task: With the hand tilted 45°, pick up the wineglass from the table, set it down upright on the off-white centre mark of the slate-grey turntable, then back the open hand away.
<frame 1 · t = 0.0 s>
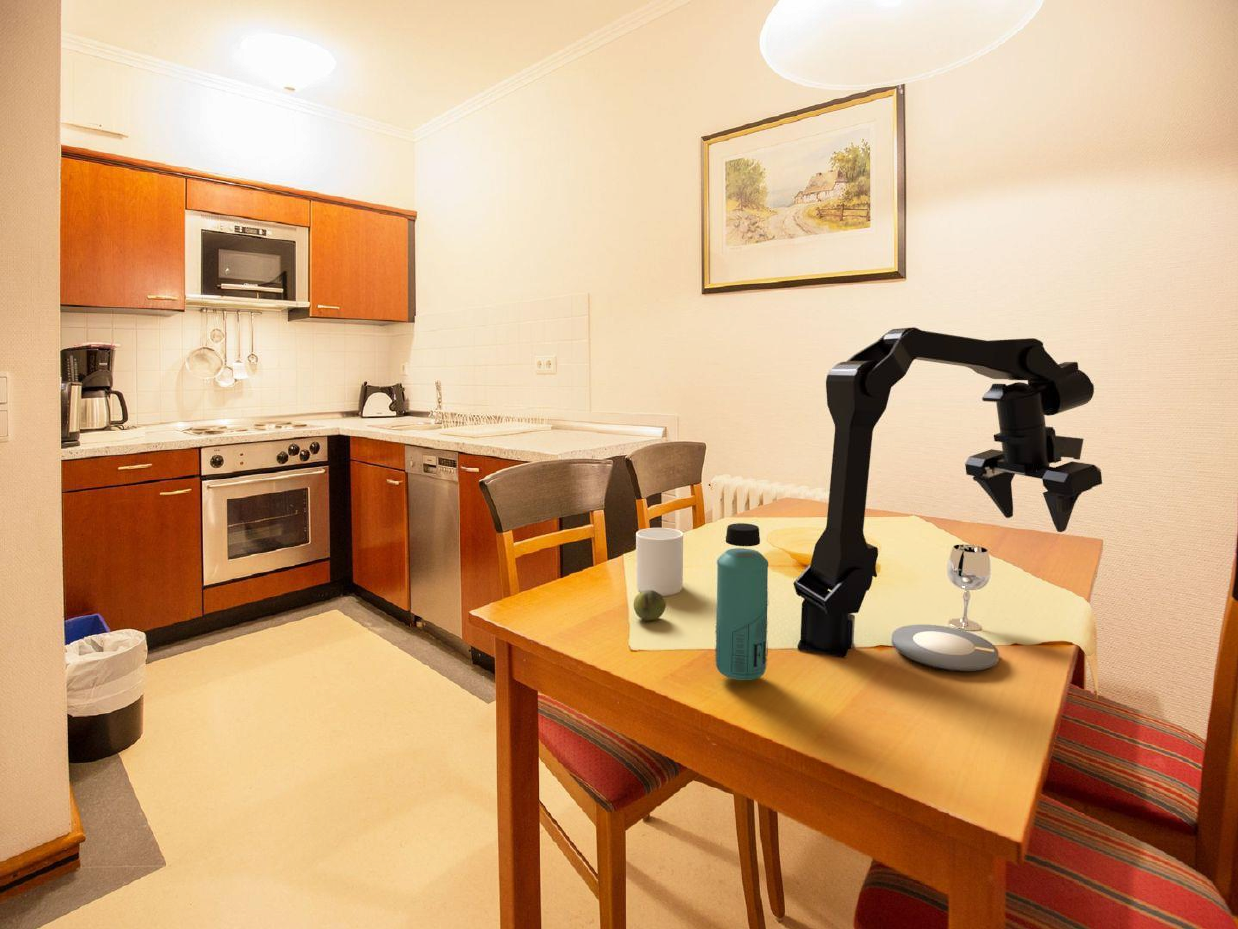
hand: (1034, 524, 98), 15 cm above the table, tool pointing down, fingers open, 9 cm apart
cup: (659, 586, 118), on the table
beverage bottle: (739, 681, 82), on the table
turntable stand: (942, 654, 89), on the table
wineglass: (964, 626, 99), on the table
lime: (650, 621, 101), on the table
turntable: (943, 645, 89), point 1 cm above the table, hinge at 0.0°
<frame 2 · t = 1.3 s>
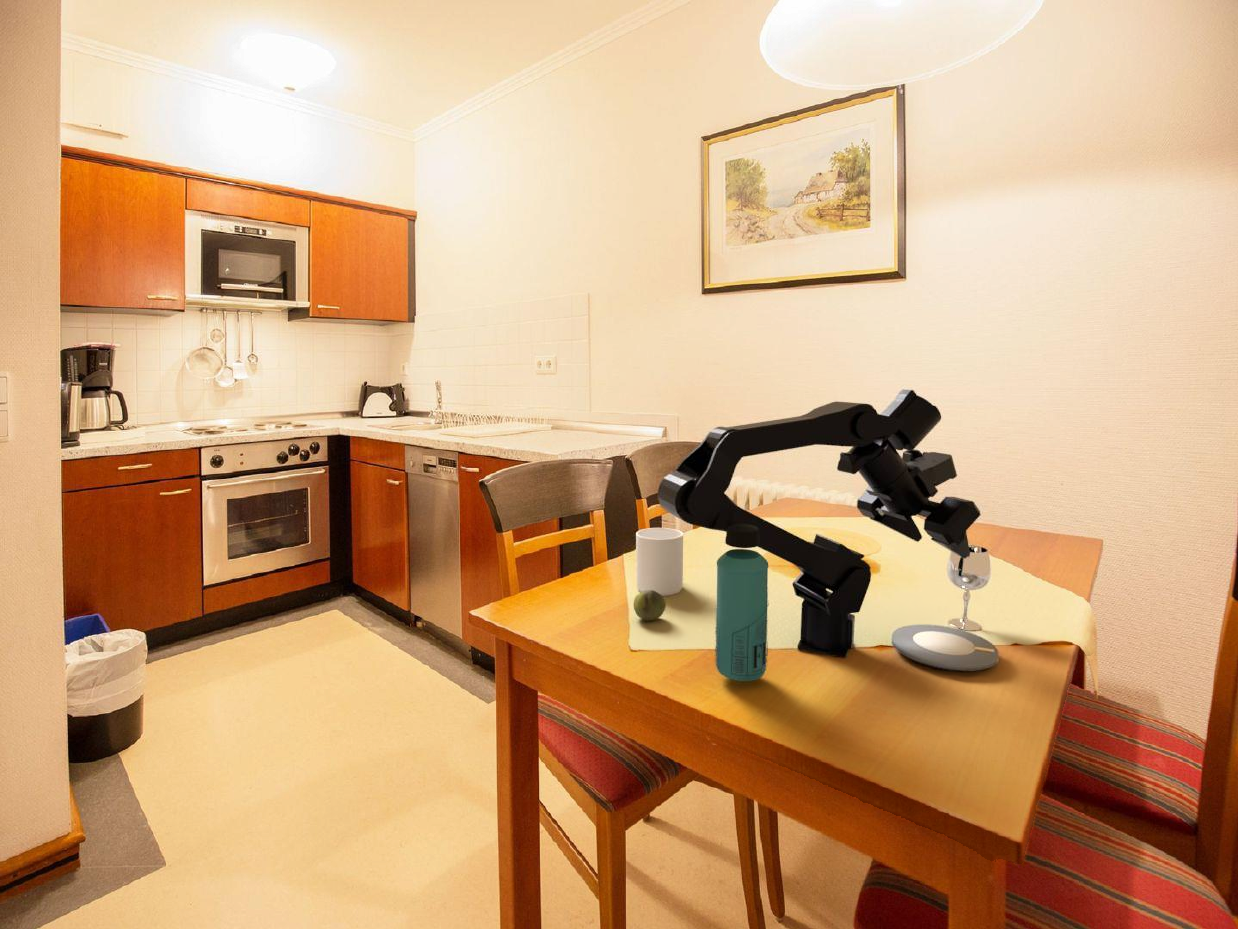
hand: (942, 547, 95), 13 cm above the table, tool tilted 40°, fingers open, 9 cm apart
beverage bottle: (740, 681, 82), on the table, touching arm
everything else where it was.
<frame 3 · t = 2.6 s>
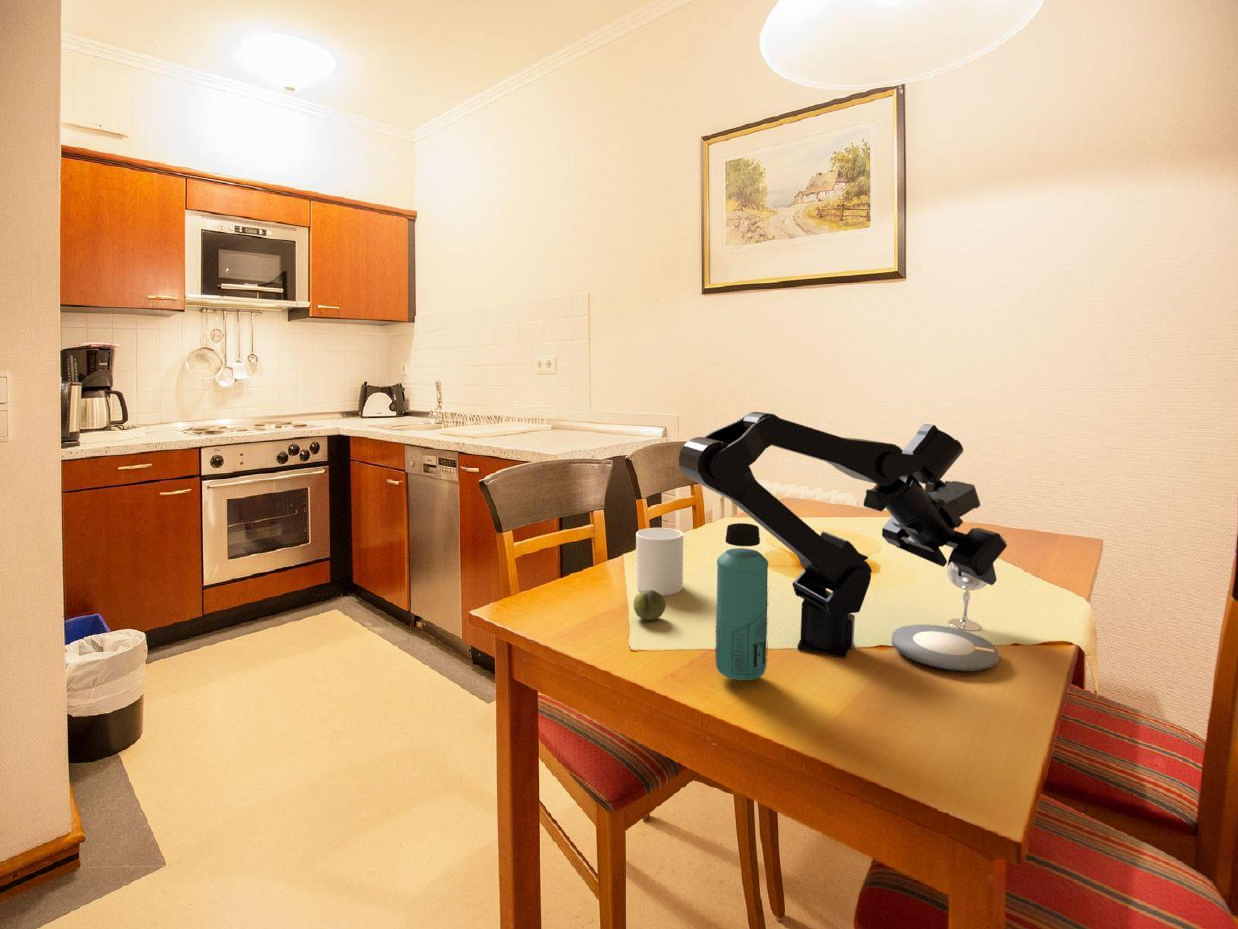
hand: (968, 573, 98), 8 cm above the table, tool tilted 45°, fingers open, 9 cm apart
beverage bottle: (739, 681, 82), on the table
everything else where it was.
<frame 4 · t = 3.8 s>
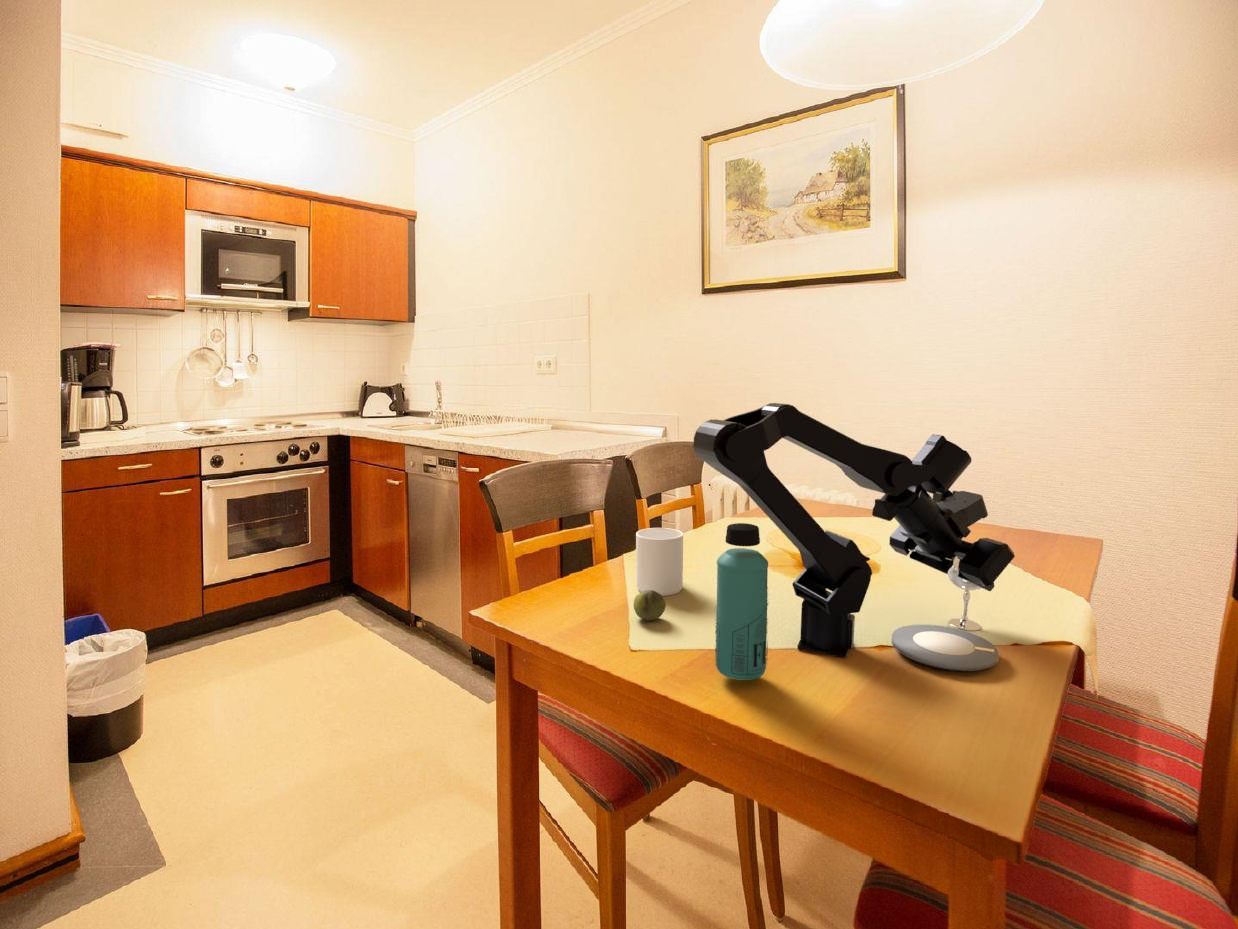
hand: (975, 582, 98), 7 cm above the table, tool tilted 45°, fingers closed on wineglass, 6 cm apart
wineglass: (964, 626, 99), on the table, touching gripper
everything else where it was.
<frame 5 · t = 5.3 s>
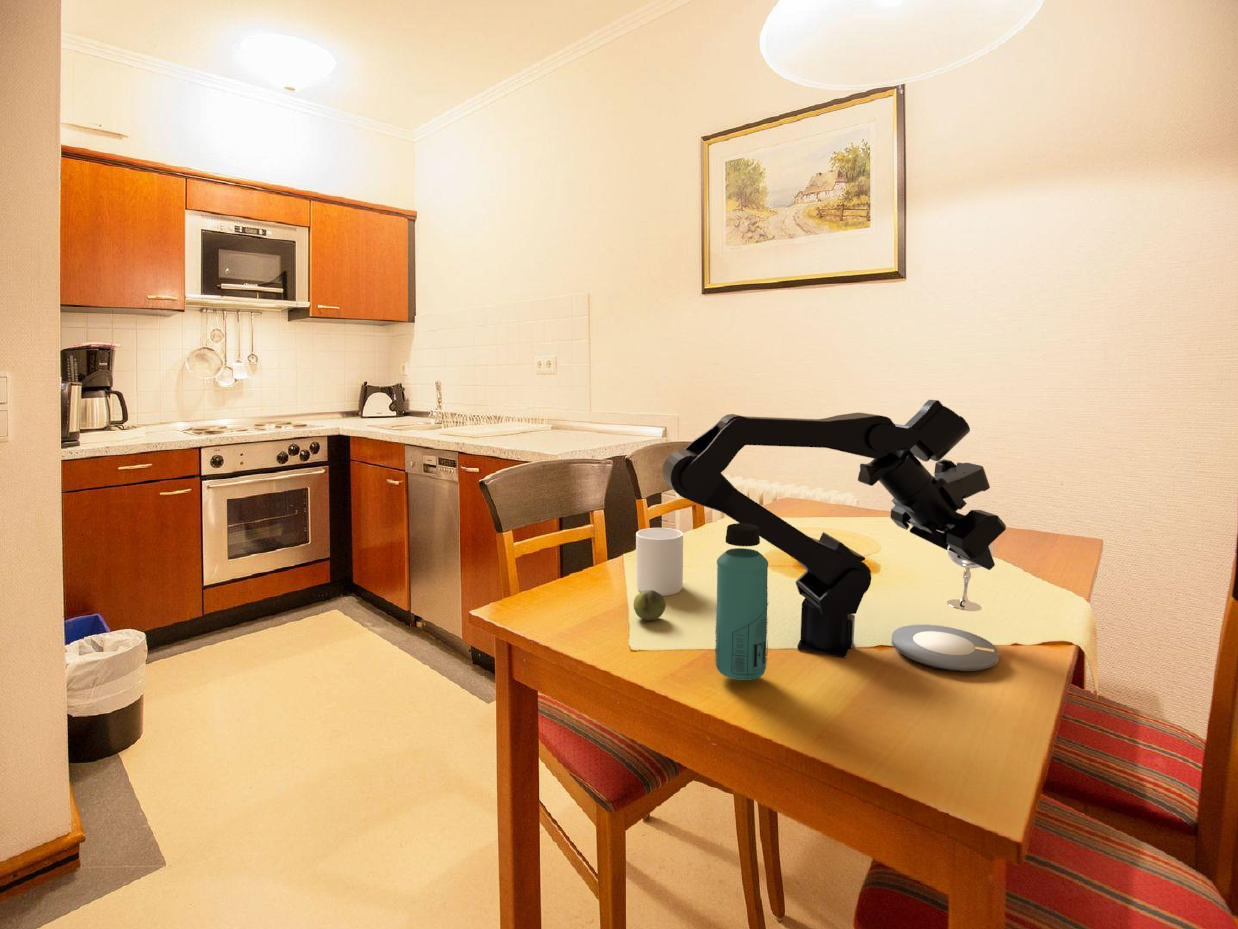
hand: (977, 561, 92), 12 cm above the table, tool tilted 45°, fingers closed on wineglass, 6 cm apart
wineglass: (963, 606, 93), point 5 cm above the table, touching gripper
everything else where it was.
when the fingers open (9 cm above the table, at t = 6.8 s): wineglass stays where it is, resting on turntable.
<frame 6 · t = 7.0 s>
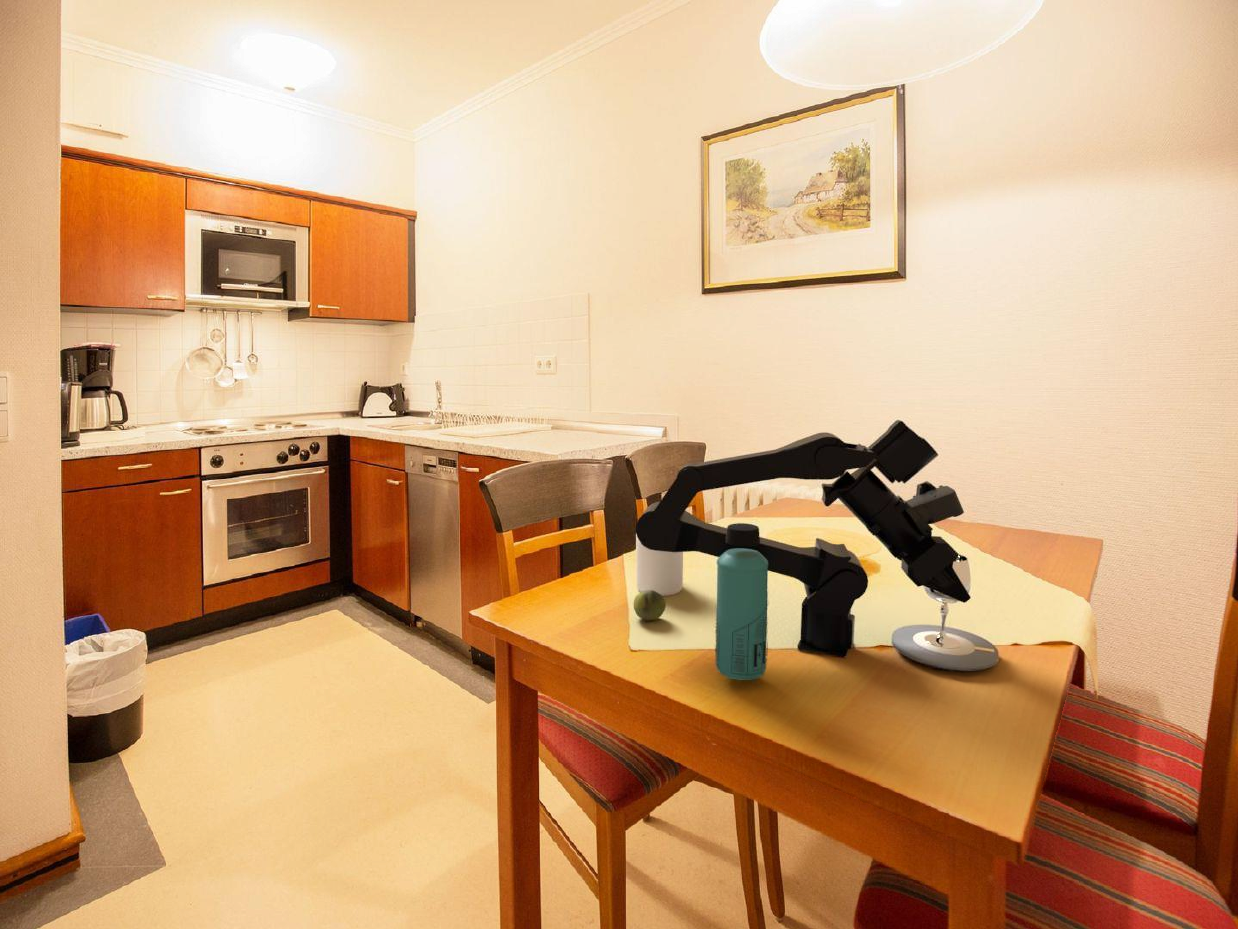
hand: (958, 590, 87), 9 cm above the table, tool tilted 45°, fingers open, 7 cm apart
wineglass: (942, 643, 89), point 2 cm above the table, touching turntable
turntable: (943, 645, 89), point 1 cm above the table, hinge at 0.0°, touching wineglass
everything else where it was.
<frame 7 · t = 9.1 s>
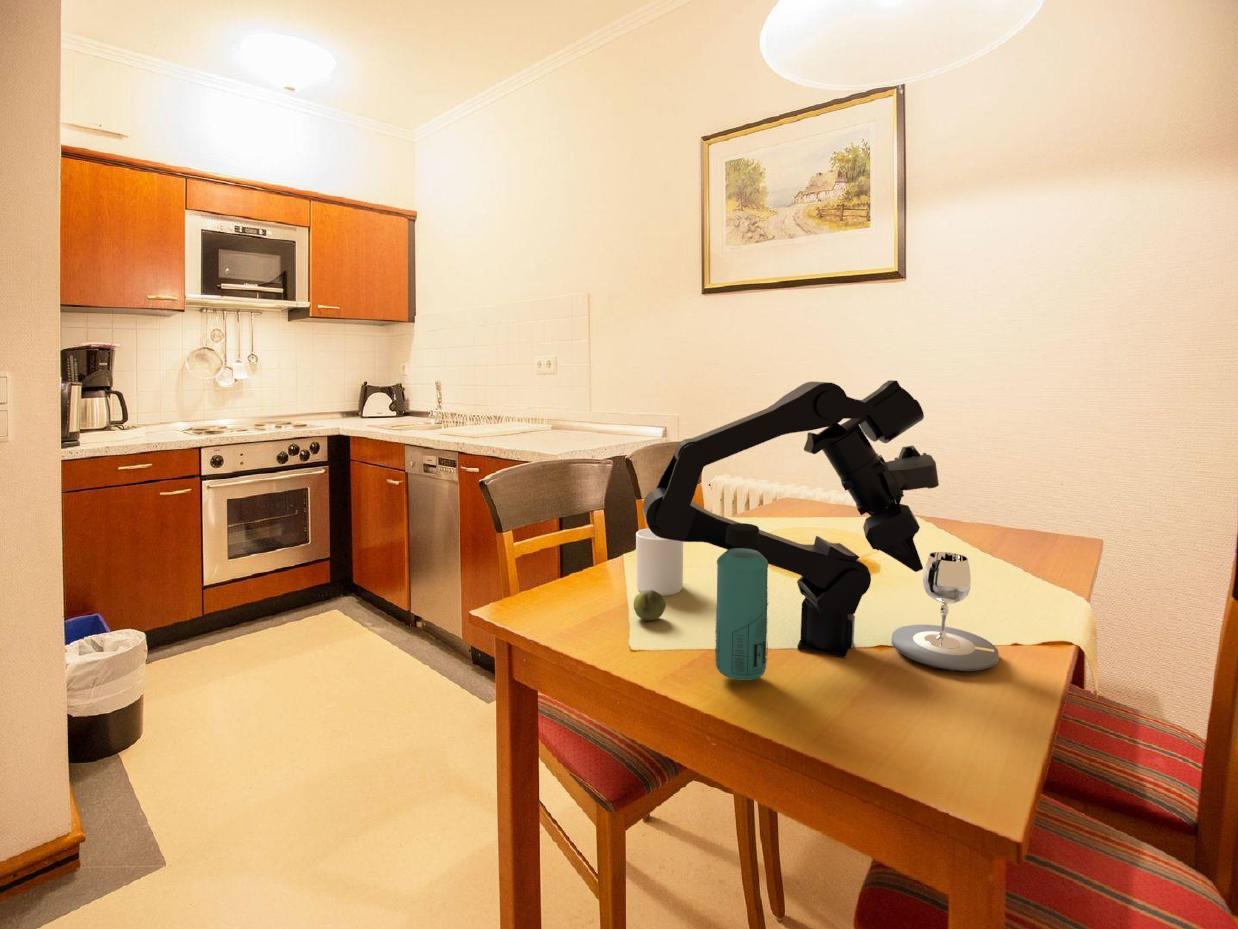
hand: (913, 554, 90), 13 cm above the table, tool tilted 35°, fingers open, 9 cm apart
nothing on the table moved.
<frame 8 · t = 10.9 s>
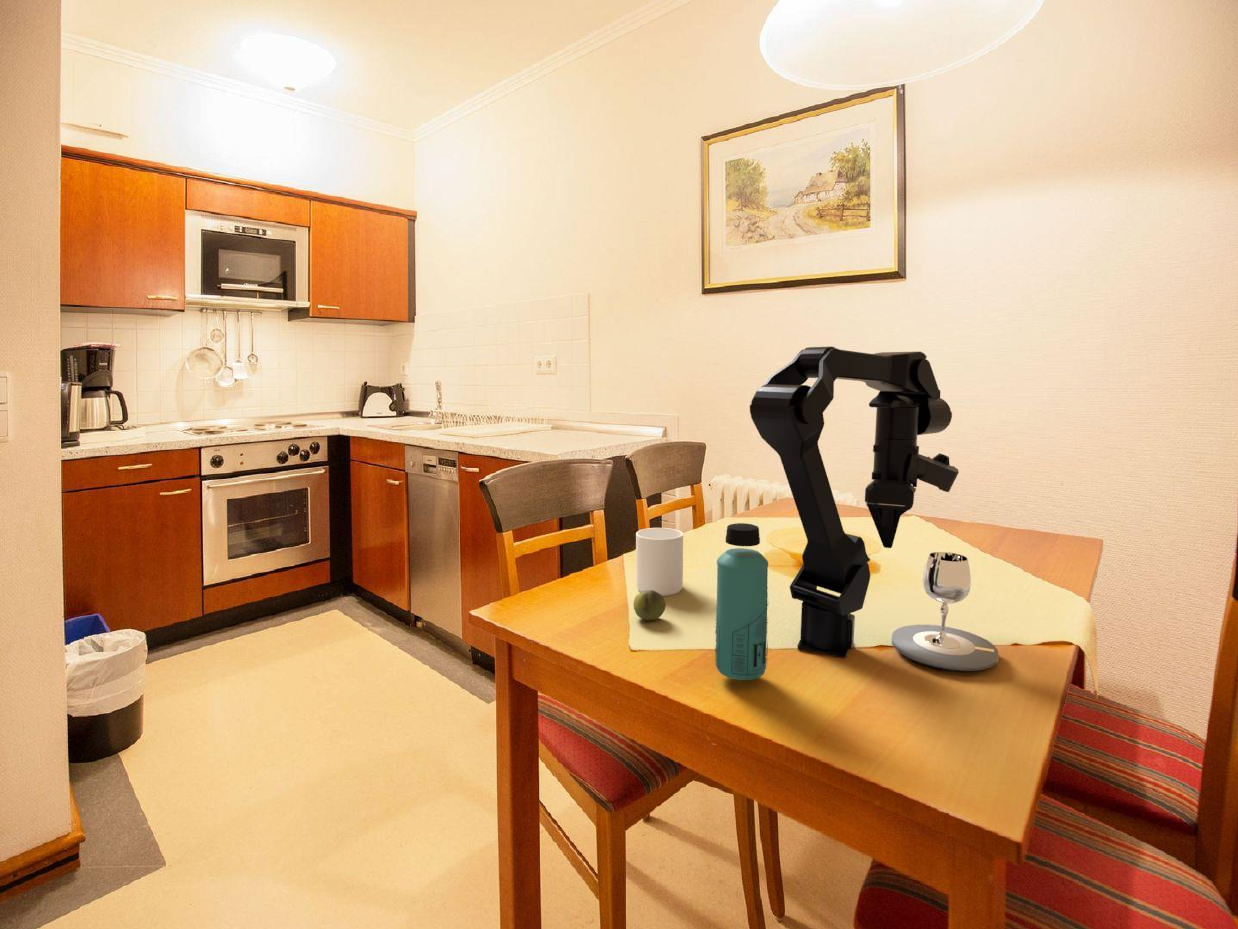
hand: (889, 540, 98), 13 cm above the table, tool pointing down, fingers open, 9 cm apart
nothing on the table moved.
at the end: wineglass 0.3 cm off-centre on the turntable, point 1.6 cm above the turntable's base; wineglass tilted 0°; the gripper is holding nothing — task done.
